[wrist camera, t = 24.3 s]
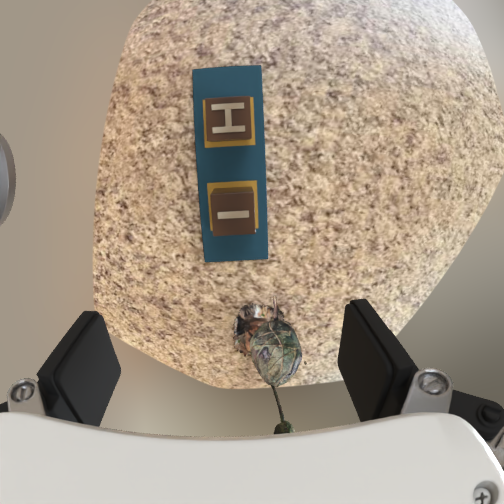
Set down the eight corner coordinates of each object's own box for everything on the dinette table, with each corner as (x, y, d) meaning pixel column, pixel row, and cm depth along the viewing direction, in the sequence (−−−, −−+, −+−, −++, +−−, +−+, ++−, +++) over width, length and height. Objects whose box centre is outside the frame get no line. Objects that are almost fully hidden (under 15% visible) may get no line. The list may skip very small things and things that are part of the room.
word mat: (205, 261, 37) (204, 262, 37) (192, 70, 29) (192, 69, 29) (267, 257, 38) (268, 259, 37) (260, 66, 29) (261, 65, 29)
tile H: (210, 142, 32) (206, 141, 27) (209, 104, 30) (204, 98, 26) (250, 139, 32) (252, 138, 28) (248, 102, 31) (250, 95, 26)
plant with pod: (307, 304, 40) (351, 414, 21) (266, 360, 43) (282, 471, 25) (256, 280, 39) (271, 394, 20) (219, 341, 42) (211, 457, 23)
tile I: (216, 225, 35) (213, 237, 31) (213, 188, 34) (209, 194, 29) (253, 223, 36) (255, 234, 31) (252, 186, 34) (254, 192, 29)
